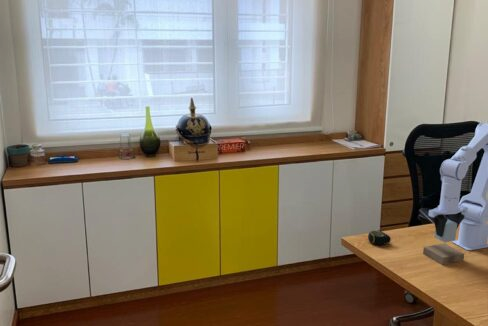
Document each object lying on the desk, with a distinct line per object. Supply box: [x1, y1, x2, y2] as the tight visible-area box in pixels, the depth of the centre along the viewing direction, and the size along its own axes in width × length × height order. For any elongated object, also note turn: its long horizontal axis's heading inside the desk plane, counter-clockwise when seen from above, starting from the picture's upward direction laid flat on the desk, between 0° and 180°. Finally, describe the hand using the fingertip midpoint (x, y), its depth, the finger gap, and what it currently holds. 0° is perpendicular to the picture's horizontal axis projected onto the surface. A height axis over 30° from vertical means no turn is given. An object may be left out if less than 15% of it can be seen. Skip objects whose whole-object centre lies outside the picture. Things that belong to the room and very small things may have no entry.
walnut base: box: [422, 243, 465, 266], centre depth 165 cm, size 9×9×3 cm
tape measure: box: [367, 229, 391, 246], centre depth 177 cm, size 7×7×4 cm
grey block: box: [434, 219, 458, 243], centre depth 163 cm, size 5×5×6 cm
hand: (445, 234), depth 164 cm, fingers closed on grey block, 5 cm apart
